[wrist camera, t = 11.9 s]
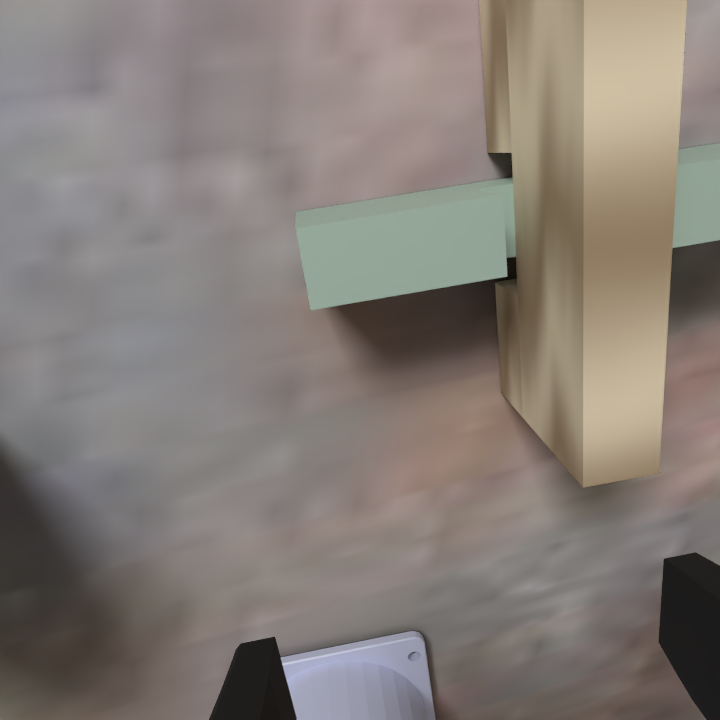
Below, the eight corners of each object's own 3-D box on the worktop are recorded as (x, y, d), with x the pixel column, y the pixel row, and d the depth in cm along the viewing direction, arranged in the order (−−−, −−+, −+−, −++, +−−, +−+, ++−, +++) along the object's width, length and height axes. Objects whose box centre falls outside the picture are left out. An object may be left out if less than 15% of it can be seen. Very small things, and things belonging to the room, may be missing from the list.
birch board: (555, 382, 20) (659, 473, 14) (501, 392, 20) (582, 487, 14) (549, -11, 15) (693, -105, 10) (478, -1, 15) (584, -89, 10)
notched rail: (731, 205, 18) (844, 218, 14) (307, 277, 17) (310, 310, 14) (738, 140, 17) (858, 136, 14) (295, 212, 17) (295, 228, 13)
